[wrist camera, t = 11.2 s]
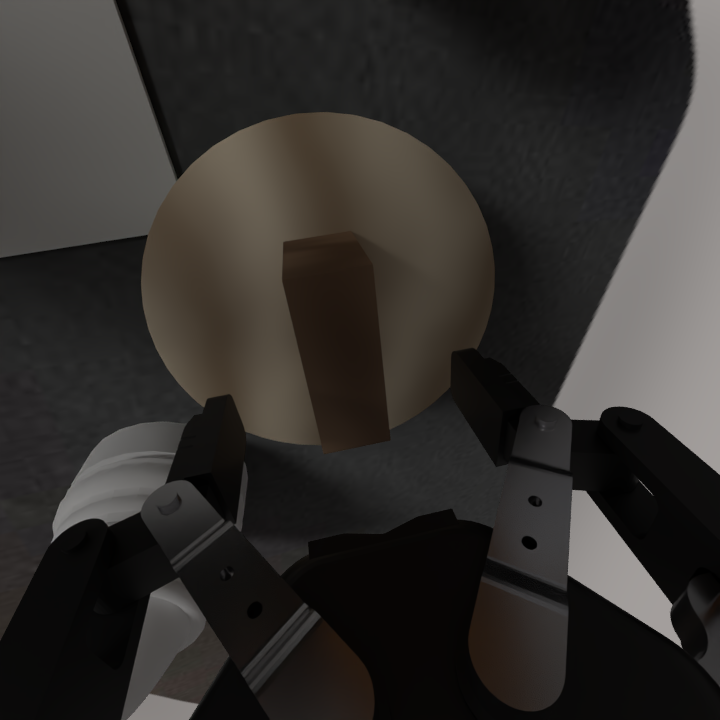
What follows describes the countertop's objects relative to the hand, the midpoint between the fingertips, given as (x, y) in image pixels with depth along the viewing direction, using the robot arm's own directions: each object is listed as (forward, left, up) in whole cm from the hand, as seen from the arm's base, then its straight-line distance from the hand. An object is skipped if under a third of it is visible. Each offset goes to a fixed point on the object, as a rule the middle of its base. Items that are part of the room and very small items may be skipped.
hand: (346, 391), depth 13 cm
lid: (0, 0, -7) cm, 7 cm away
